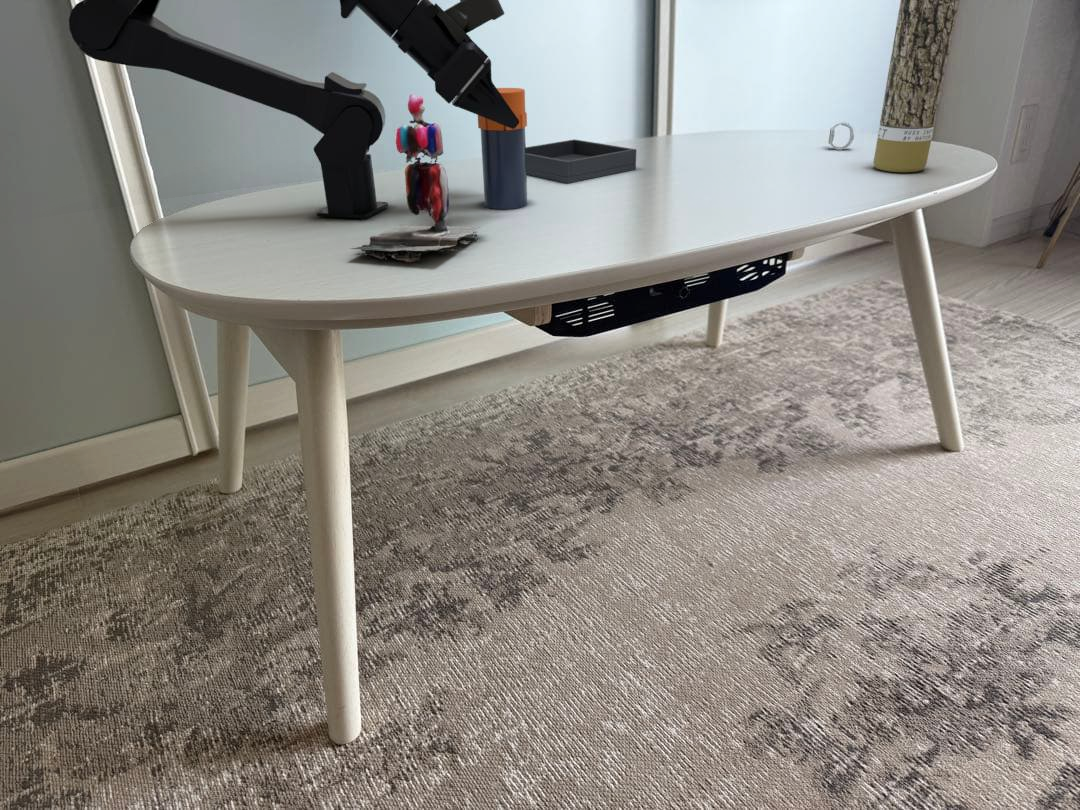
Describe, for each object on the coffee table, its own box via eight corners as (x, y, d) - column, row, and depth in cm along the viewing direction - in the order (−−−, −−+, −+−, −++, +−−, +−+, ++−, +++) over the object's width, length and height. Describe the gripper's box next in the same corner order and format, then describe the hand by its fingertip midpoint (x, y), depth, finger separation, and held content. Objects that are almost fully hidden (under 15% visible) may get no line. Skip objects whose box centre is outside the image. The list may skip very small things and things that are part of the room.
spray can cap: (518, 130, 88) (516, 92, 86) (473, 130, 90) (470, 92, 88) (531, 123, 93) (530, 87, 91) (488, 123, 94) (486, 87, 92)
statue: (402, 243, 85) (392, 96, 80) (481, 247, 83) (477, 94, 77) (349, 260, 76) (334, 93, 70) (437, 265, 73) (428, 92, 68)
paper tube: (929, 166, 109) (970, -39, 98) (920, 175, 104) (963, -40, 92) (878, 162, 112) (912, -37, 101) (867, 171, 107) (902, -38, 96)
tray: (567, 183, 105) (567, 162, 104) (507, 170, 114) (506, 150, 113) (636, 169, 112) (636, 149, 111) (574, 157, 122) (574, 139, 120)
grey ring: (852, 148, 123) (855, 121, 121) (852, 150, 121) (855, 123, 119) (827, 148, 124) (831, 121, 122) (827, 150, 122) (830, 123, 121)
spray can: (520, 210, 92) (517, 116, 88) (478, 208, 94) (473, 116, 89) (532, 200, 97) (529, 110, 92) (492, 198, 98) (488, 110, 93)
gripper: (459, -50, 74) (573, 71, 81) (454, -41, 91) (549, 59, 97) (385, 44, 77) (501, 154, 84) (393, 36, 94) (490, 128, 100)
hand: (513, 119), depth 91 cm, fingers open, 9 cm apart
